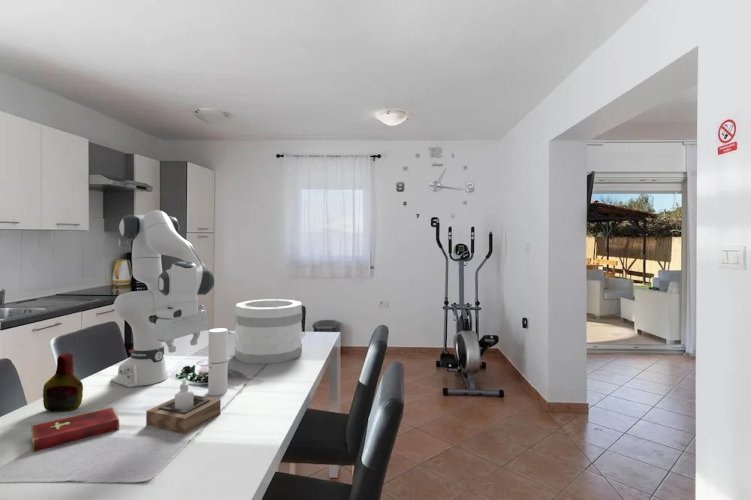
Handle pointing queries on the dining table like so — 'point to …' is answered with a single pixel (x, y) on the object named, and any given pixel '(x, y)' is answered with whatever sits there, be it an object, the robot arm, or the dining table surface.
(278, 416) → the dining table surface
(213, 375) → the cylindrical container
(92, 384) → the dining table surface
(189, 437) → the dining table surface
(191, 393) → the eye dropper bottle
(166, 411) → the socket block
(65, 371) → the bottle
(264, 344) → the storage basket
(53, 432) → the hardcover book
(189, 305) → the robot arm
